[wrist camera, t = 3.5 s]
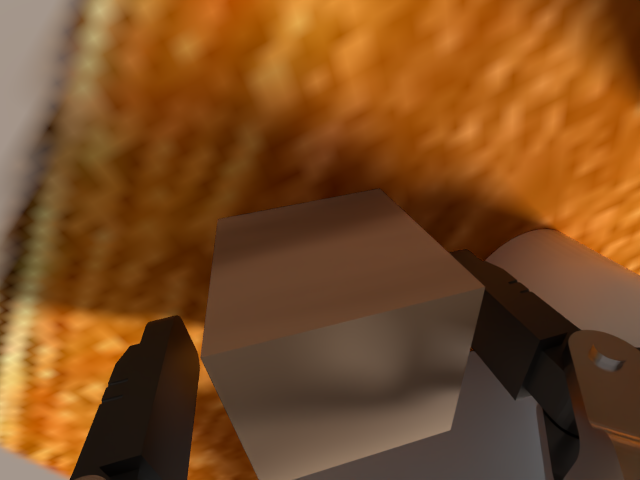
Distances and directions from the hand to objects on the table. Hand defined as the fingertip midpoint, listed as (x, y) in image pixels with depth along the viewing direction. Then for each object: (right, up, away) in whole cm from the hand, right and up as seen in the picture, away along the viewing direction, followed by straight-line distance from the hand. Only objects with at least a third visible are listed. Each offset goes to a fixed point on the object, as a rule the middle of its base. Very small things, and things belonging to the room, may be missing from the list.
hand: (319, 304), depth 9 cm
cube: (0, +1, +1) cm, 2 cm away
